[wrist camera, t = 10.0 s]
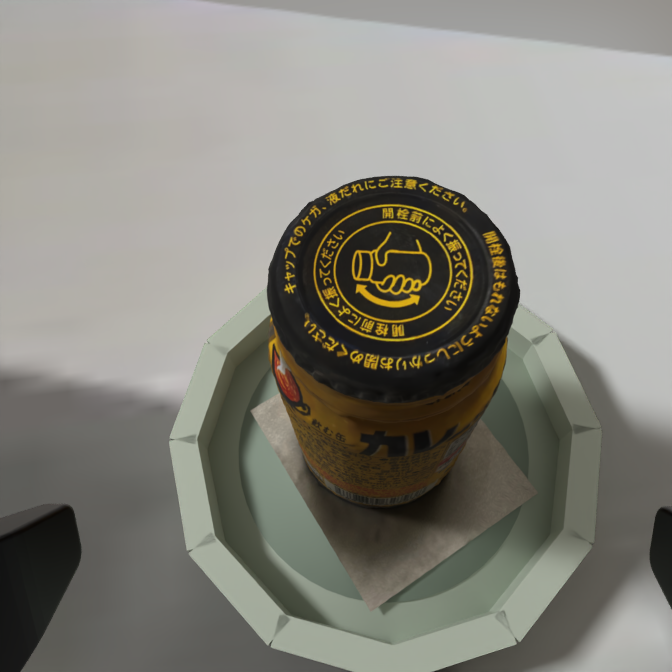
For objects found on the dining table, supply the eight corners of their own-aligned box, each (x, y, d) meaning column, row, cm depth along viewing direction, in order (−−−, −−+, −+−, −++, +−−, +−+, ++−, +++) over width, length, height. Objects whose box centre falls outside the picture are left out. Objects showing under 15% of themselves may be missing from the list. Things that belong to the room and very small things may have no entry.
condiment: (402, 320, 25) (431, 95, 14) (537, 494, 22) (710, 378, 11) (250, 412, 23) (150, 242, 13) (370, 612, 20) (375, 617, 9)
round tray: (651, 592, 21) (682, 590, 19) (233, 727, 20) (218, 740, 18) (488, 246, 27) (499, 216, 25) (164, 334, 26) (147, 310, 24)
